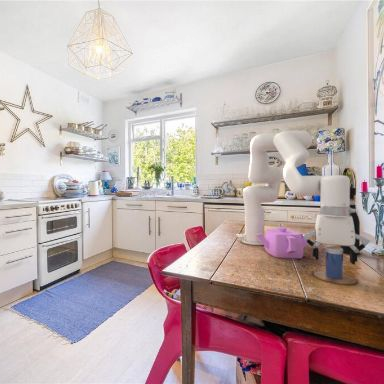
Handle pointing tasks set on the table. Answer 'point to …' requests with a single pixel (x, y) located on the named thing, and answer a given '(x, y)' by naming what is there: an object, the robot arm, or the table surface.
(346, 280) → the coaster
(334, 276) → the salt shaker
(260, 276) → the table surface
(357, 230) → the black water bottle
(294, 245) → the teakettle
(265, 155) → the robot arm
